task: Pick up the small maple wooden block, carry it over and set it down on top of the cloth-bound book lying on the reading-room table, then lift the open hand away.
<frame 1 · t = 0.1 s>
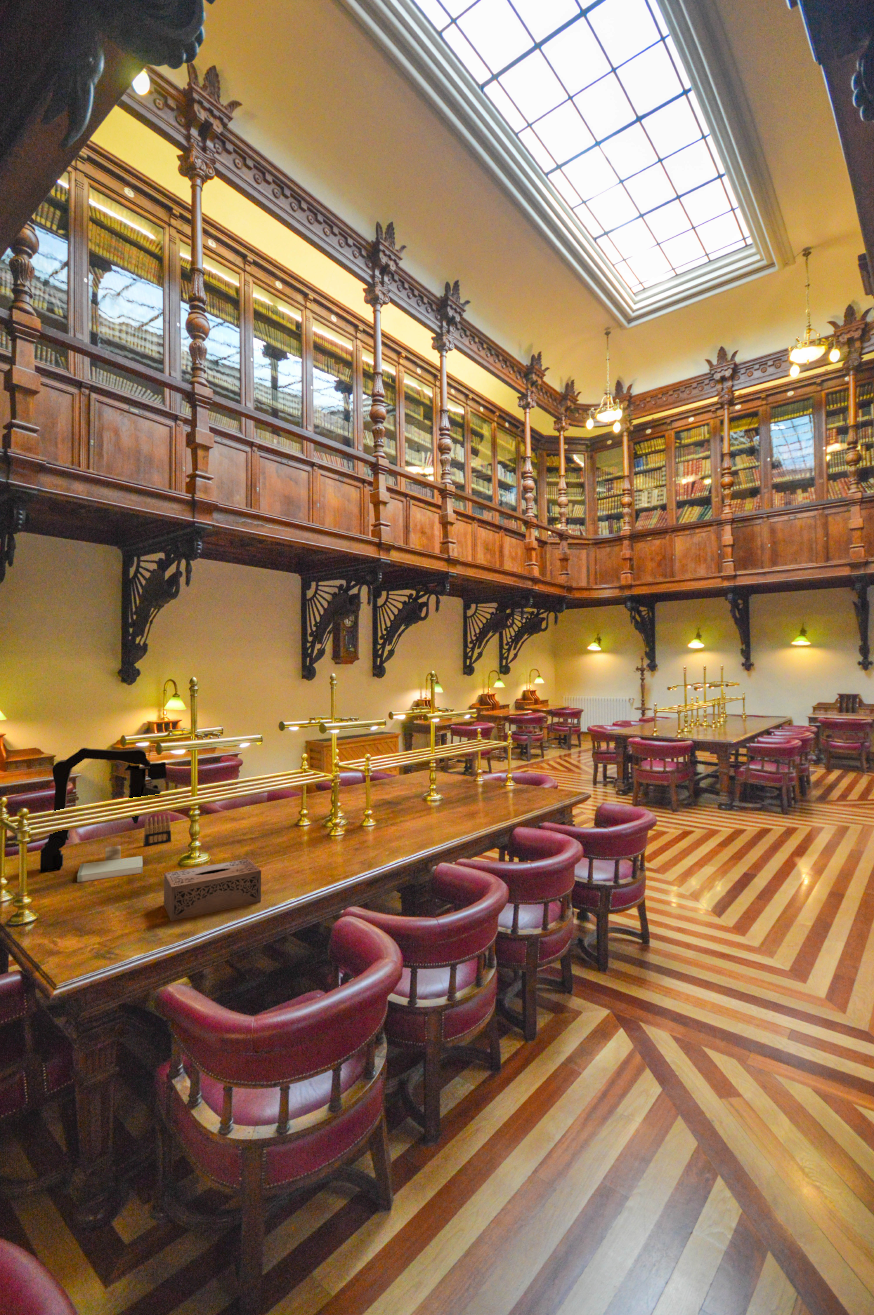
hand: (136, 821, 224), 14 cm above the table, fingers open, 9 cm apart
maple block: (112, 861, 219), on the table
ammunition clip: (157, 844, 243), on the table
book: (111, 872, 207), on the table
tissue box cover: (212, 905, 176), on the table
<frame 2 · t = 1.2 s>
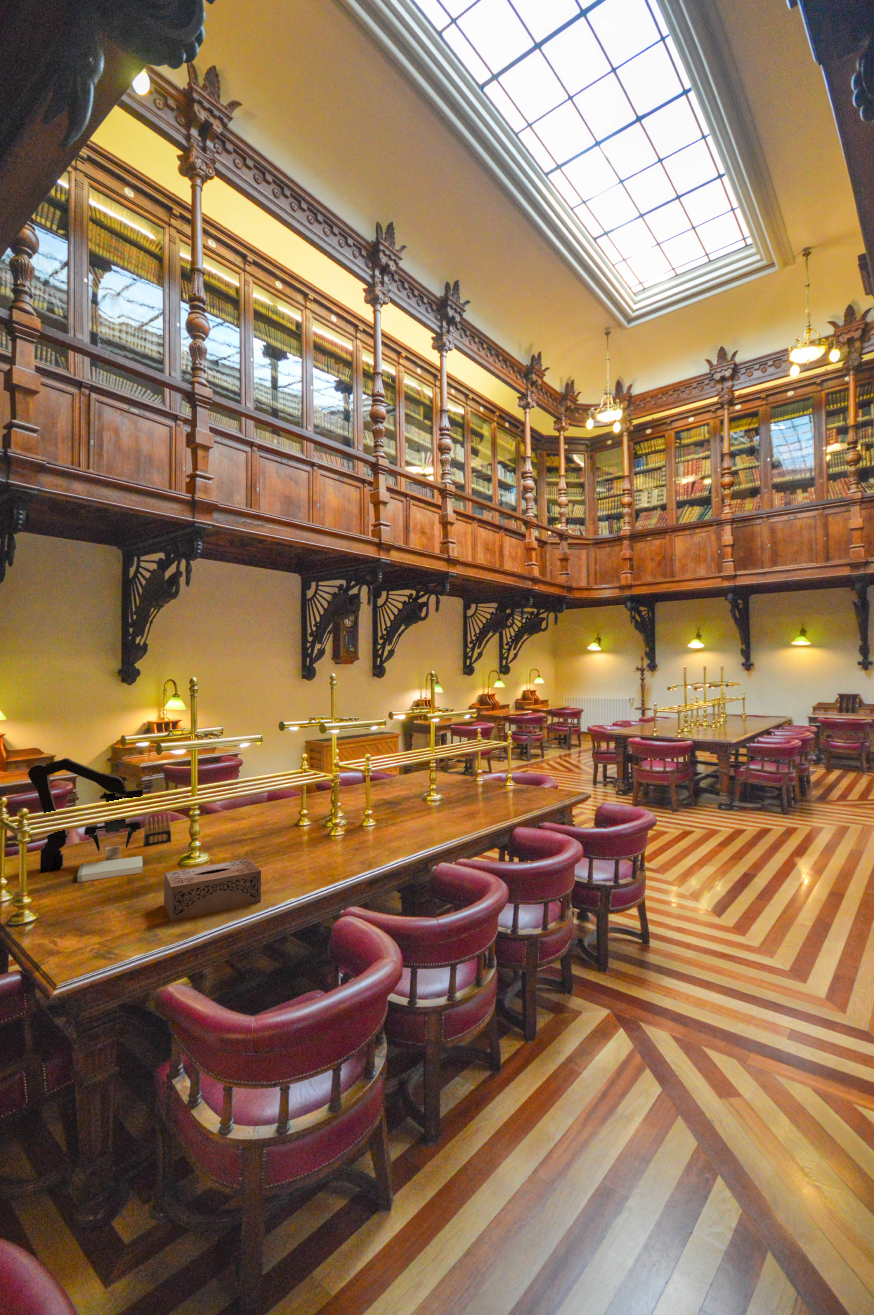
hand: (112, 849, 219), 4 cm above the table, fingers open, 9 cm apart
nothing on the table moved.
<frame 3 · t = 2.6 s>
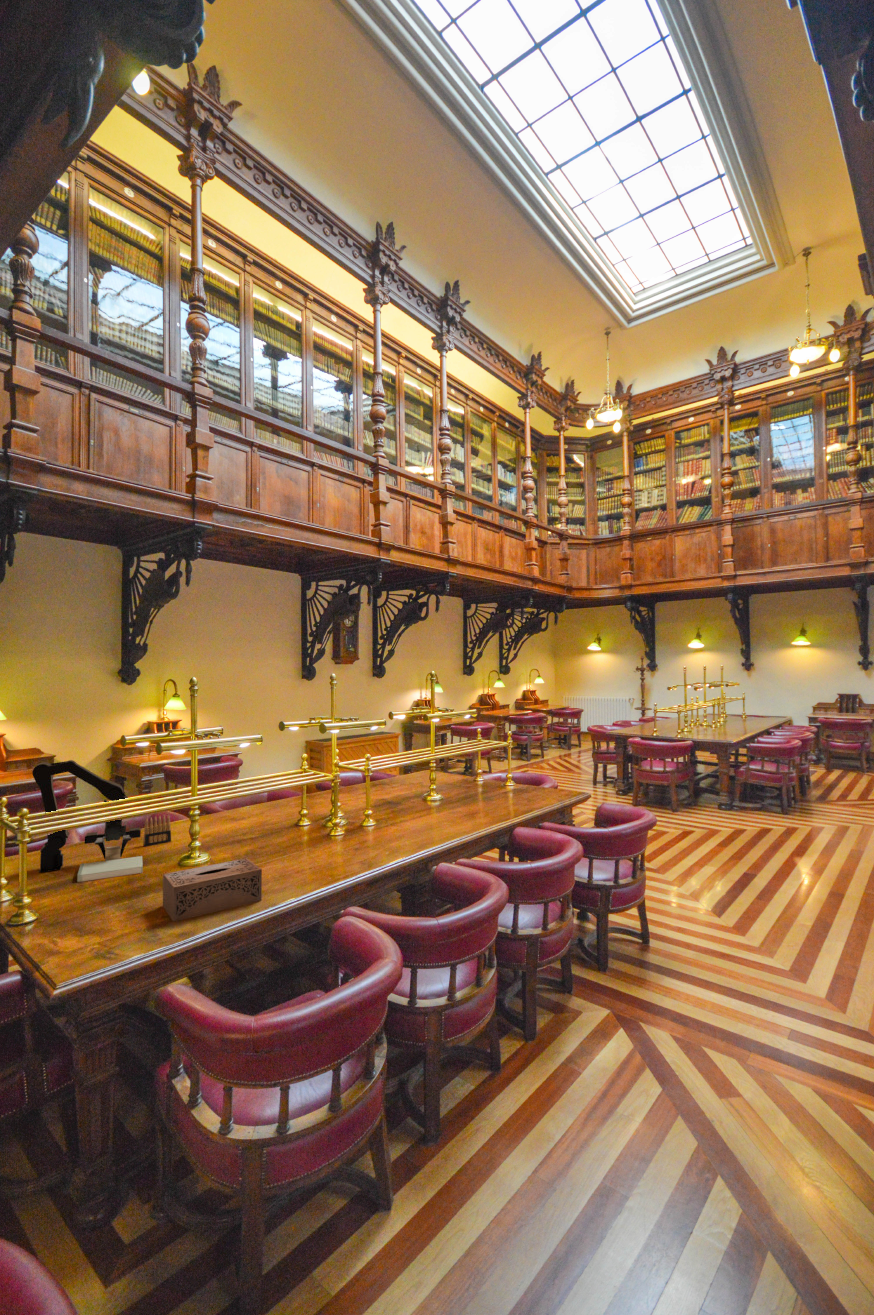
hand: (112, 857, 219), 1 cm above the table, fingers closed on maple block, 5 cm apart
maple block: (112, 861, 219), on the table, touching gripper
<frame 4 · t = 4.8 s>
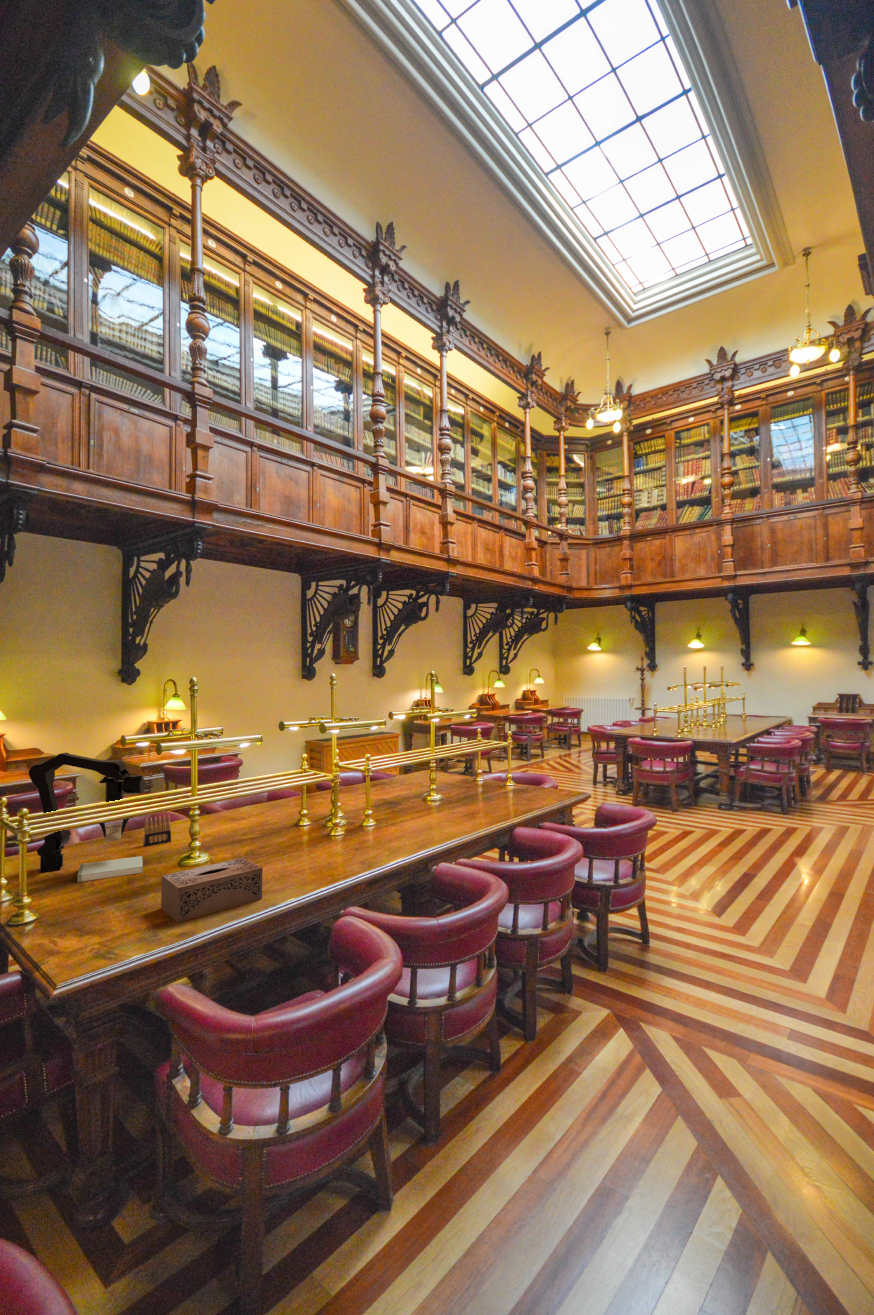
hand: (113, 836, 214), 11 cm above the table, fingers closed on maple block, 5 cm apart
maple block: (113, 839, 214), point 10 cm above the table, touching gripper
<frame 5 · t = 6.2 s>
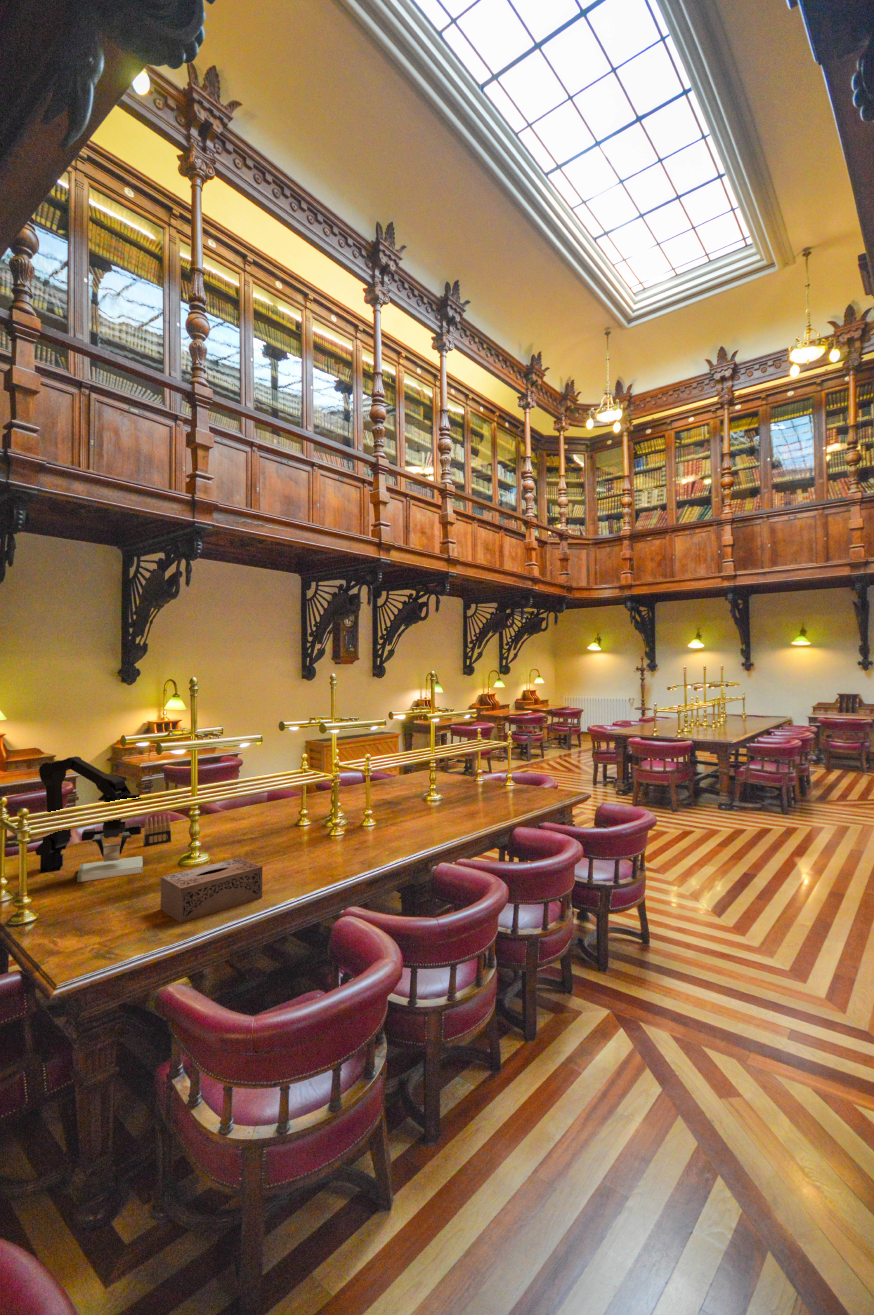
hand: (111, 855, 207), 6 cm above the table, fingers closed on maple block, 5 cm apart
maple block: (111, 859, 207), point 4 cm above the table, touching gripper
when the fingers open (5 cm above the table, at t = 7.1 s): maple block drops 2 cm, resting on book.
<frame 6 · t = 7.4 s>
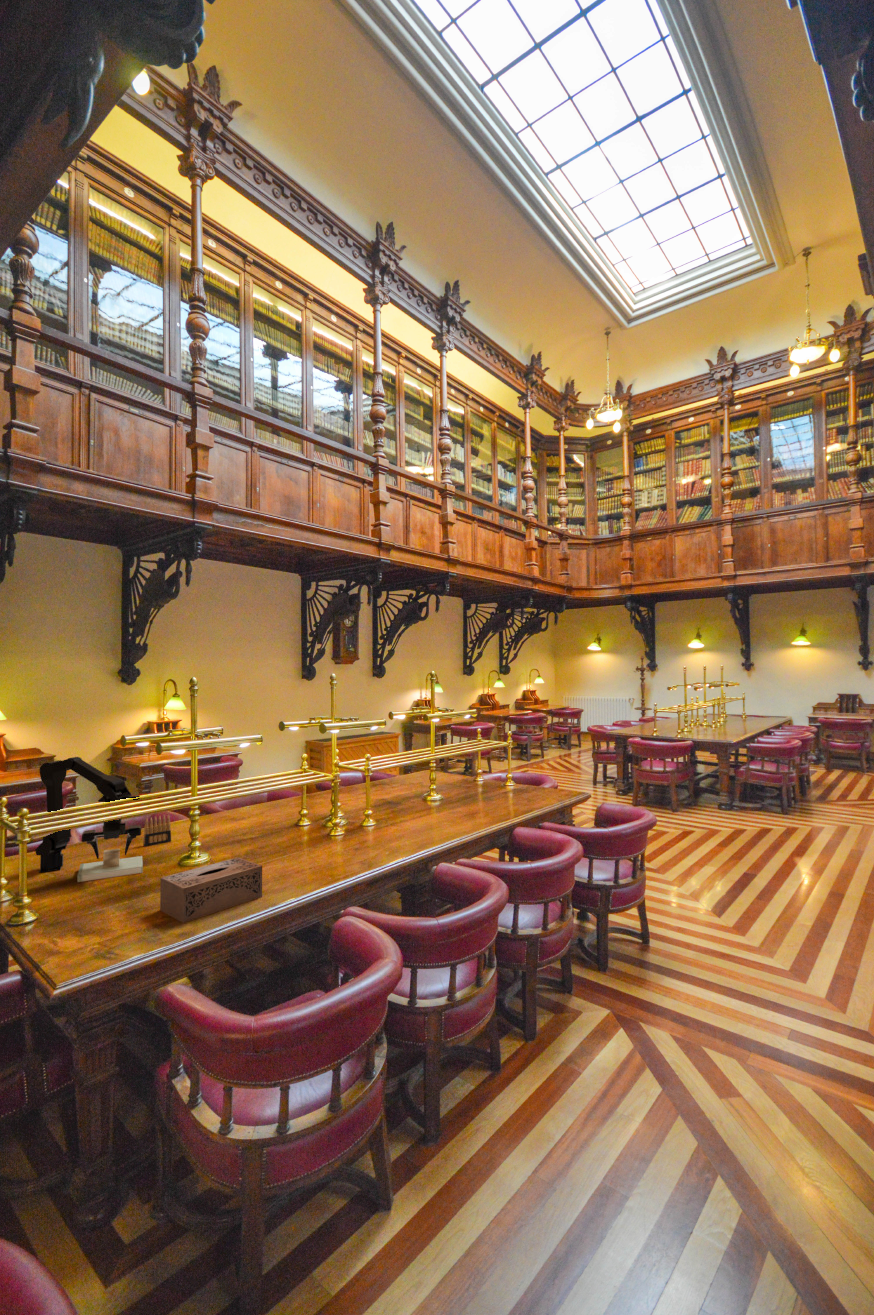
hand: (111, 857, 207), 5 cm above the table, fingers open, 8 cm apart
maple block: (111, 865, 207), point 2 cm above the table, touching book
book: (111, 872, 207), on the table, touching maple block
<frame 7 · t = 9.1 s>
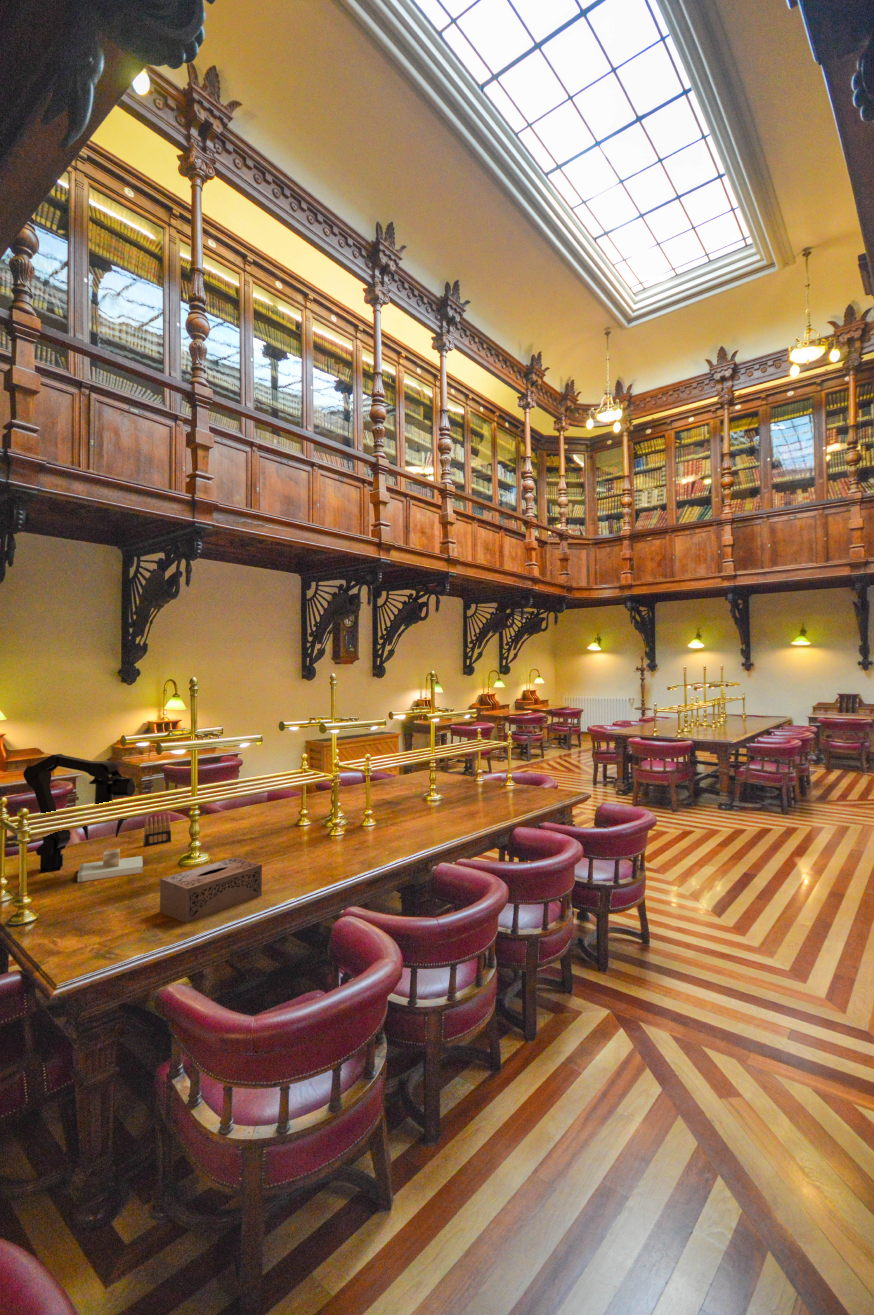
hand: (102, 838, 211), 11 cm above the table, fingers open, 9 cm apart
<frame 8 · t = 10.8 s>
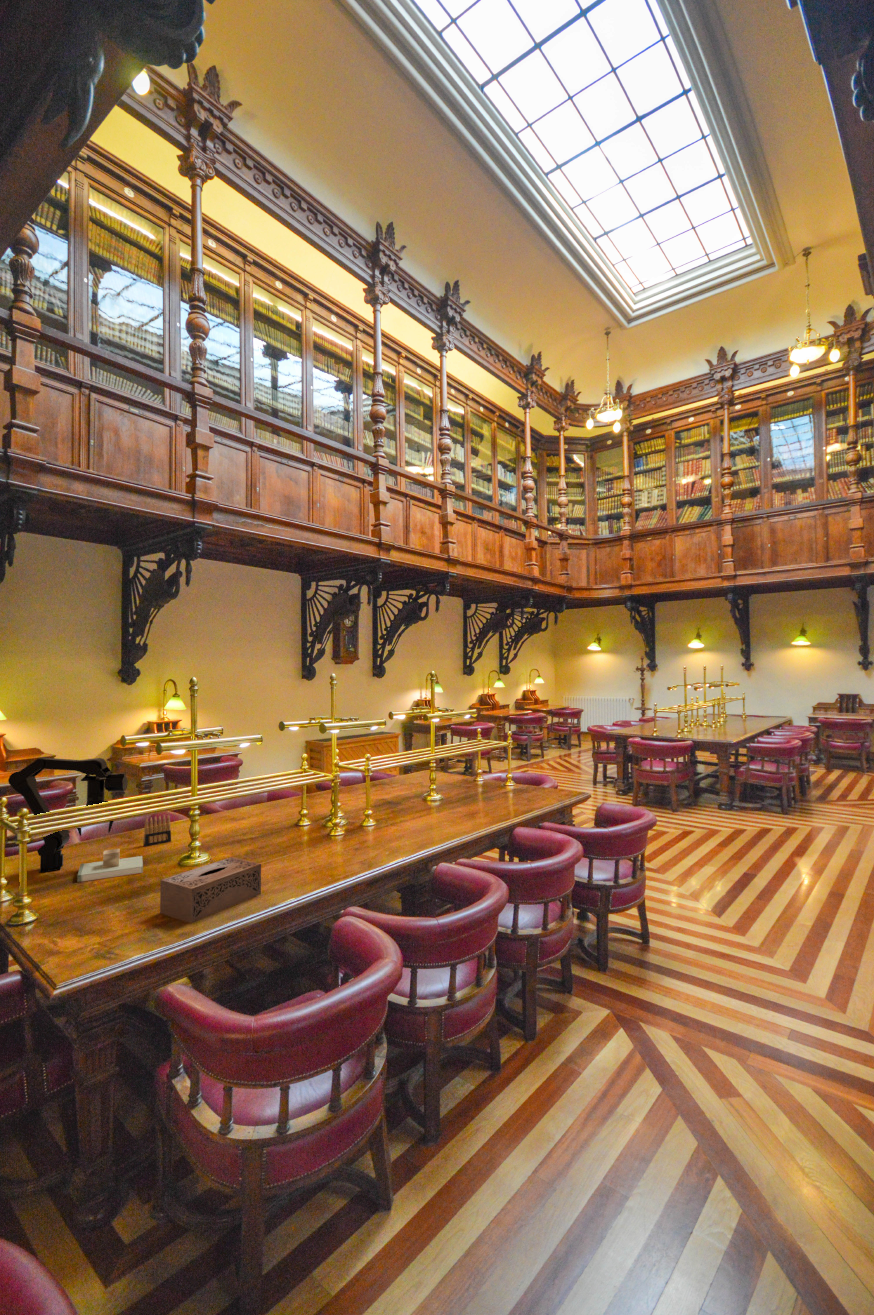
hand: (94, 834, 213), 12 cm above the table, fingers open, 9 cm apart
at the end: maple block inside the target area on the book (0.1 cm from its centre), point 2.5 cm above the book's base; maple block tilted 0°; the gripper is holding nothing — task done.
